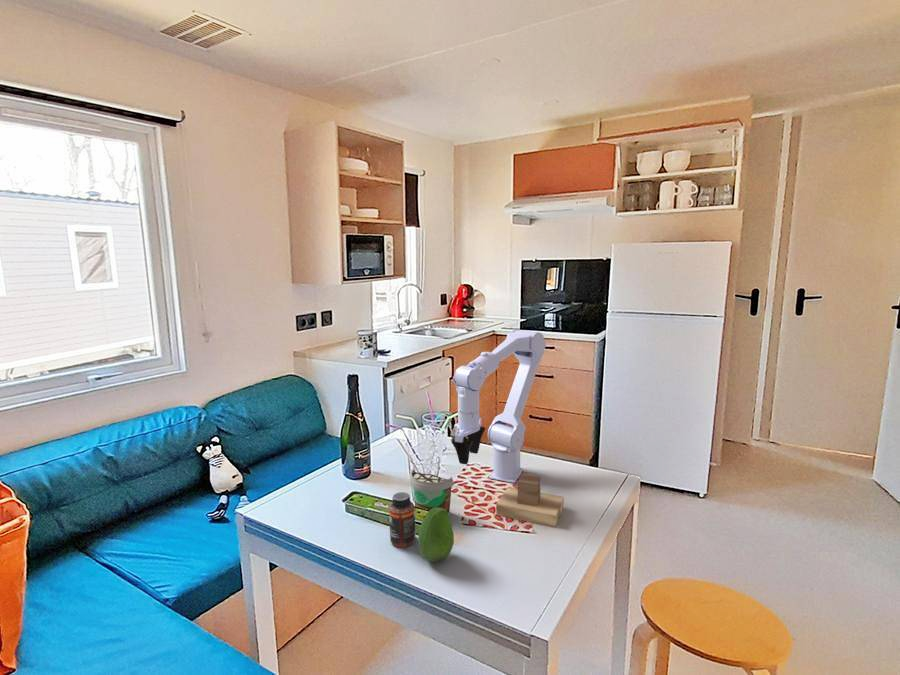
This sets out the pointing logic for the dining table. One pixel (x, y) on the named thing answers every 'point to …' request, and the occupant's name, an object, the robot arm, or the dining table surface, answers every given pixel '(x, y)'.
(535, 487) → the walnut block
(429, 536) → the avocado
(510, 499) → the oak block
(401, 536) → the supplement bottle
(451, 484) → the food container
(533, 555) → the dining table surface
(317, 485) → the dining table surface
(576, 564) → the dining table surface
